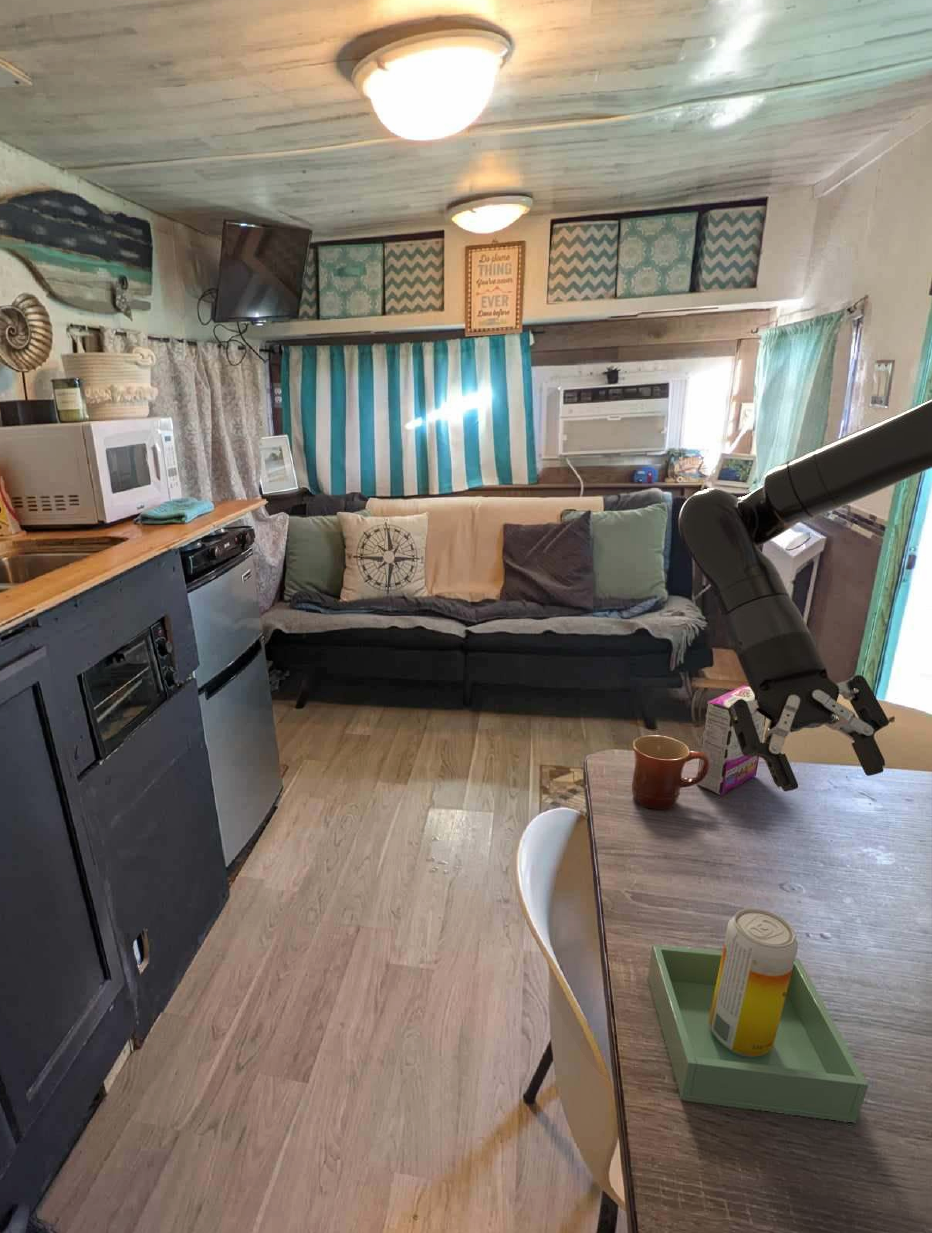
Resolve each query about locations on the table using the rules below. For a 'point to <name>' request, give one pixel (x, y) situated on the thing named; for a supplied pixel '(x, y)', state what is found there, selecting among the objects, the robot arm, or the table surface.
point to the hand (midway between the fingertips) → (833, 782)
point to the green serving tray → (777, 1081)
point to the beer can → (752, 981)
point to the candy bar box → (727, 744)
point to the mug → (662, 770)
